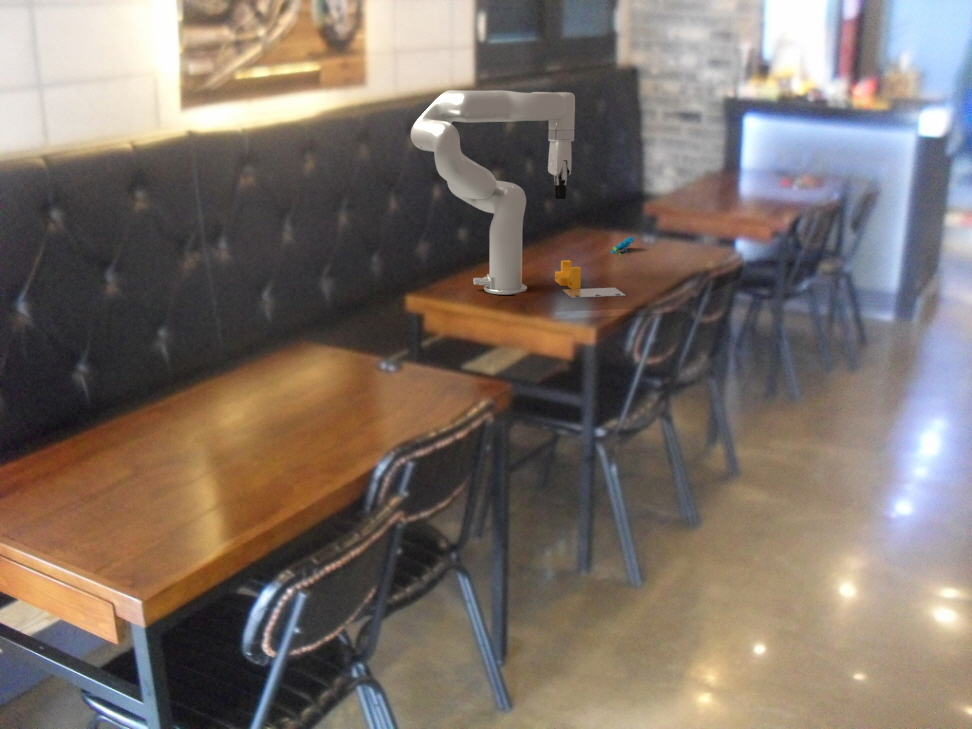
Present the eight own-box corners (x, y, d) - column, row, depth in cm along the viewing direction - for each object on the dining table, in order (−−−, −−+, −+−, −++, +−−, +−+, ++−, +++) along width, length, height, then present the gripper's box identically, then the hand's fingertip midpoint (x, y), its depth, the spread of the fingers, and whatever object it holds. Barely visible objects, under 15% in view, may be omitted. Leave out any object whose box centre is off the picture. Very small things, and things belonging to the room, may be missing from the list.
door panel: (571, 297, 298) (571, 296, 298) (562, 290, 308) (562, 289, 308) (625, 295, 301) (625, 294, 301) (614, 288, 311) (614, 287, 311)
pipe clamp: (555, 281, 320) (555, 260, 318) (568, 281, 321) (569, 260, 319) (566, 290, 309) (566, 268, 307) (580, 289, 310) (581, 268, 308)
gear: (618, 251, 362) (636, 232, 356) (628, 264, 361) (647, 246, 355) (601, 256, 354) (620, 237, 347) (612, 270, 352) (631, 250, 346)
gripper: (542, 134, 314) (541, 195, 320) (555, 137, 300) (553, 202, 305) (567, 133, 316) (565, 195, 321) (580, 137, 302) (578, 201, 307)
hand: (559, 198), depth 313 cm, fingers closed
